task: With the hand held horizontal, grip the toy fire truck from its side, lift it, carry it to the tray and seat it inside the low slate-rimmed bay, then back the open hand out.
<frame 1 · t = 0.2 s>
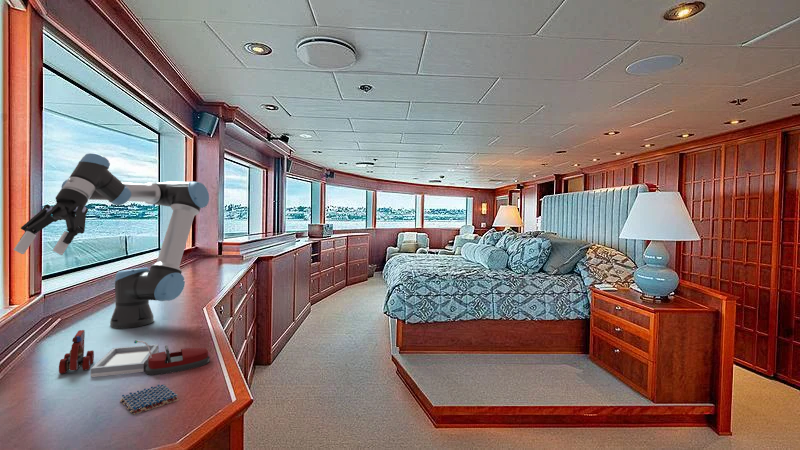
hand: (37, 252, 116), 35 cm above the cabinet, tool tilted 35°, fingers open, 13 cm apart
tray: (127, 363, 123), on the cabinet
woven mat: (149, 403, 99), on the cabinet
toy fire truck: (77, 369, 119), on the cabinet
bumper car: (173, 368, 121), on the cabinet
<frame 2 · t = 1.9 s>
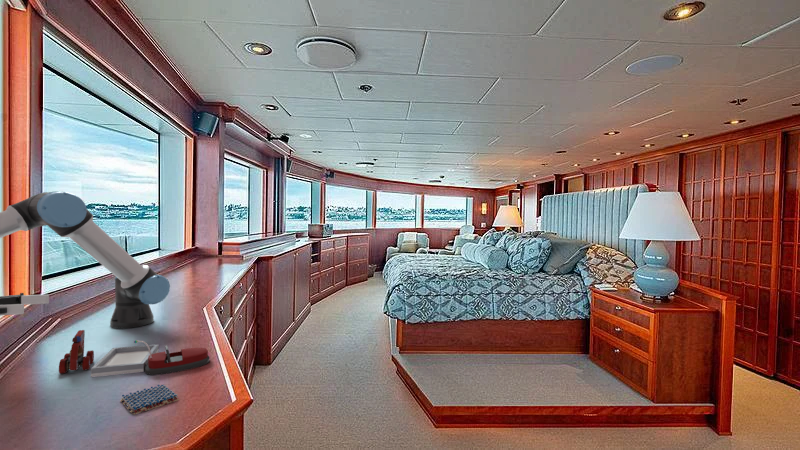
hand: (36, 303, 115), 20 cm above the cabinet, tool horizontal, fingers open, 13 cm apart
nothing on the cabinet moved.
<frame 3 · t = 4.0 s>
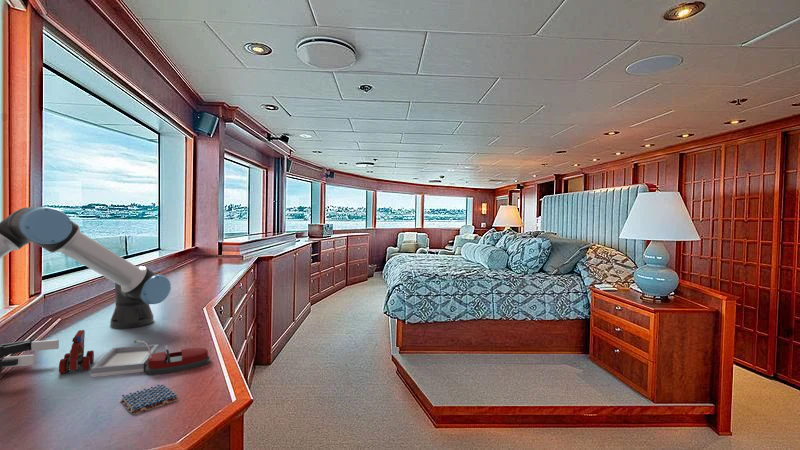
hand: (46, 351, 116), 6 cm above the cabinet, tool horizontal, fingers open, 13 cm apart
nothing on the cabinet moved.
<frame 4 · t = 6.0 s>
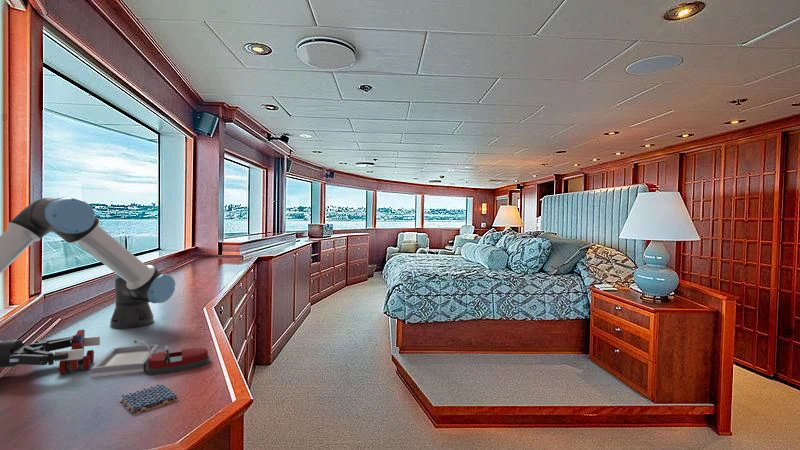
hand: (91, 346, 120), 6 cm above the cabinet, tool horizontal, fingers closed on toy fire truck, 12 cm apart
toy fire truck: (77, 368, 119), on the cabinet, touching gripper
everything else where it was.
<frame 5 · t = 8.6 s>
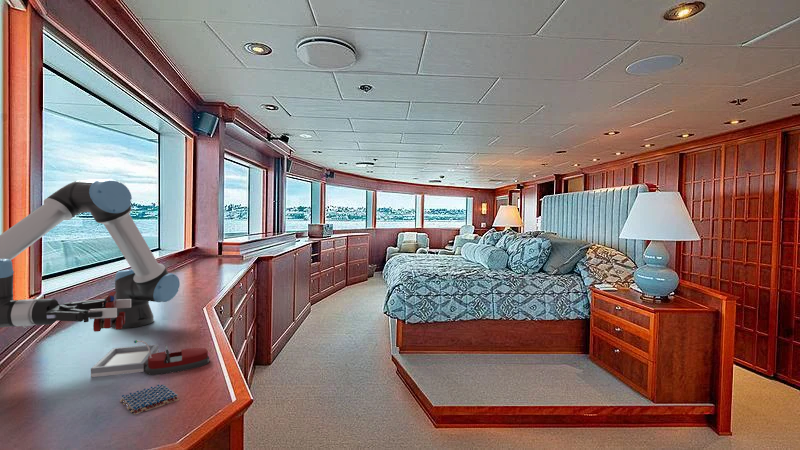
hand: (124, 307, 122), 18 cm above the cabinet, tool horizontal, fingers closed on toy fire truck, 12 cm apart
toy fire truck: (110, 328, 121), point 11 cm above the cabinet, touching gripper
everything else where it was.
when the fingers open (8 cm above the cabinet, at t = 11.3 s): toy fire truck drops 1 cm, resting on tray.
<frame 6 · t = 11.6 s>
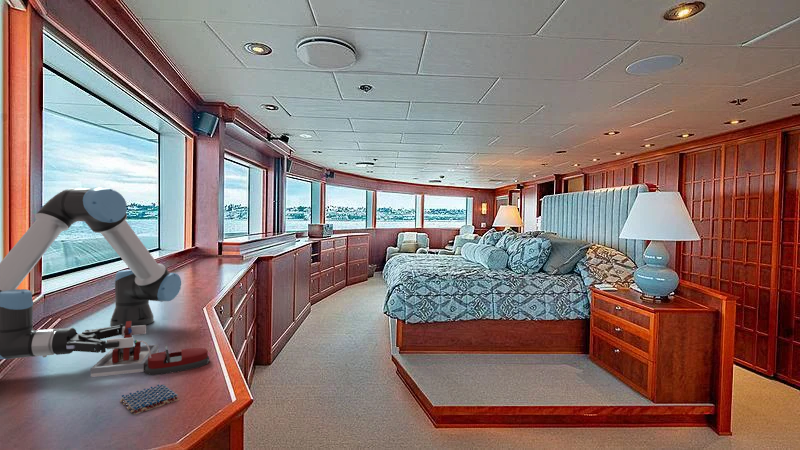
hand: (139, 335, 124), 8 cm above the cabinet, tool horizontal, fingers open, 13 cm apart
toy fire truck: (127, 358, 124), point 1 cm above the cabinet, touching tray, gripper
everything else where it was.
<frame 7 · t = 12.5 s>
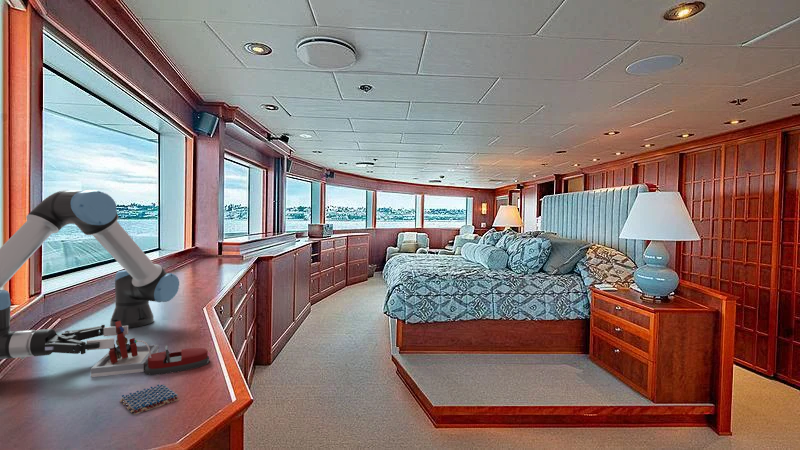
hand: (121, 336, 123), 9 cm above the cabinet, tool horizontal, fingers open, 13 cm apart
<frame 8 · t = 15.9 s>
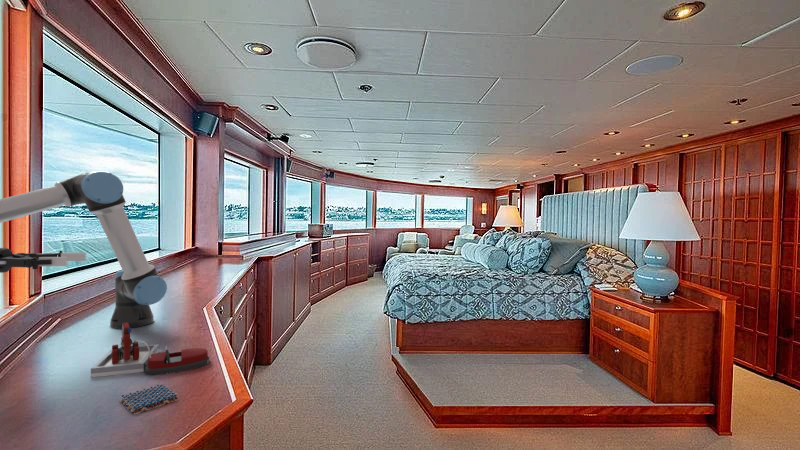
hand: (76, 258, 126), 32 cm above the cabinet, tool horizontal, fingers open, 13 cm apart
toy fire truck: (125, 359, 124), point 1 cm above the cabinet, touching tray
everything else where it was.
at the end: toy fire truck inside the target area on the tray (1.4 cm from its centre), point 0.9 cm above the tray's base; toy fire truck tilted 0°; the gripper is holding nothing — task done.
